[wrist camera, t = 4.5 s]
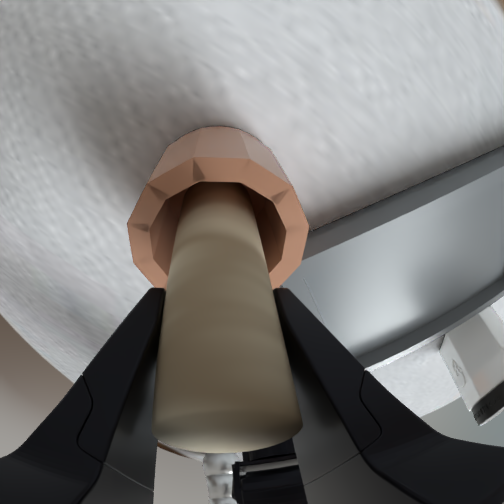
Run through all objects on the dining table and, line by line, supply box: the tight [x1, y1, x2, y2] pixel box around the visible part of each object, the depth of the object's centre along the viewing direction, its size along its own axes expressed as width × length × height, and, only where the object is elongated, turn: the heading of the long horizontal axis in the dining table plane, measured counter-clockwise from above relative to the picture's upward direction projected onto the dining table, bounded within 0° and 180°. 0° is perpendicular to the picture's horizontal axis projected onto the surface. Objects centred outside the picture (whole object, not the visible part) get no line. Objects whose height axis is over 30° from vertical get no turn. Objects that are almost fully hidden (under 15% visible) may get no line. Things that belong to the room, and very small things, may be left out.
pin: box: [152, 181, 303, 453], centre depth 9 cm, size 3×3×10 cm
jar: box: [439, 306, 504, 426], centre depth 23 cm, size 9×8×12 cm
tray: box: [282, 146, 504, 372], centre depth 19 cm, size 22×16×2 cm
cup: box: [127, 126, 309, 290], centre depth 12 cm, size 6×6×5 cm
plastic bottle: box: [203, 453, 240, 504], centre depth 34 cm, size 6×7×20 cm
